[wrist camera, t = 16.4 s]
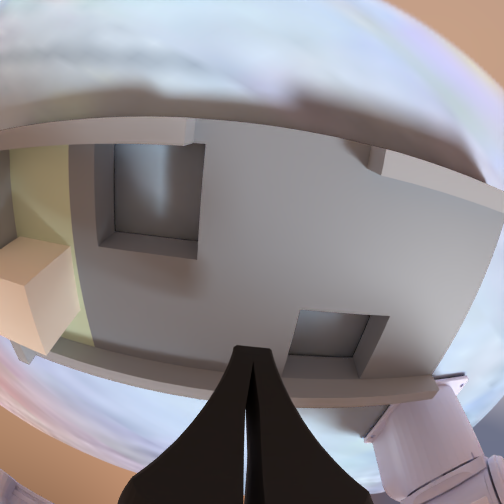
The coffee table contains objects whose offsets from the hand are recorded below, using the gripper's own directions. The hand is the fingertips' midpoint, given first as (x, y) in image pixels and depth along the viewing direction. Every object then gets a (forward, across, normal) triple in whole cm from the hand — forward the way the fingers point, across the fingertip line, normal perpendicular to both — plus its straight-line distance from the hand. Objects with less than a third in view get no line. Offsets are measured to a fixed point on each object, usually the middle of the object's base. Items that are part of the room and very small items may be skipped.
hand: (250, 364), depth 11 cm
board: (+6, +1, -1) cm, 6 cm away
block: (+3, +12, 0) cm, 12 cm away
